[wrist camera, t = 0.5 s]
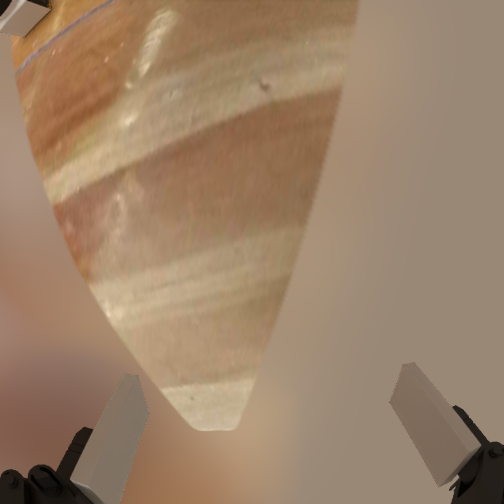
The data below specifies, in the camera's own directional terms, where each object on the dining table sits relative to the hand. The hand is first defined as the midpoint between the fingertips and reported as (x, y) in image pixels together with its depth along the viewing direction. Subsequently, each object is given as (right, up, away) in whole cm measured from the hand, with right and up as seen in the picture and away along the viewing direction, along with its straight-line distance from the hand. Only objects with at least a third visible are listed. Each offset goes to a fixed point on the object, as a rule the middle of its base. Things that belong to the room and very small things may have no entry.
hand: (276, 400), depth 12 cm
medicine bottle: (-37, +47, +8) cm, 60 cm away
